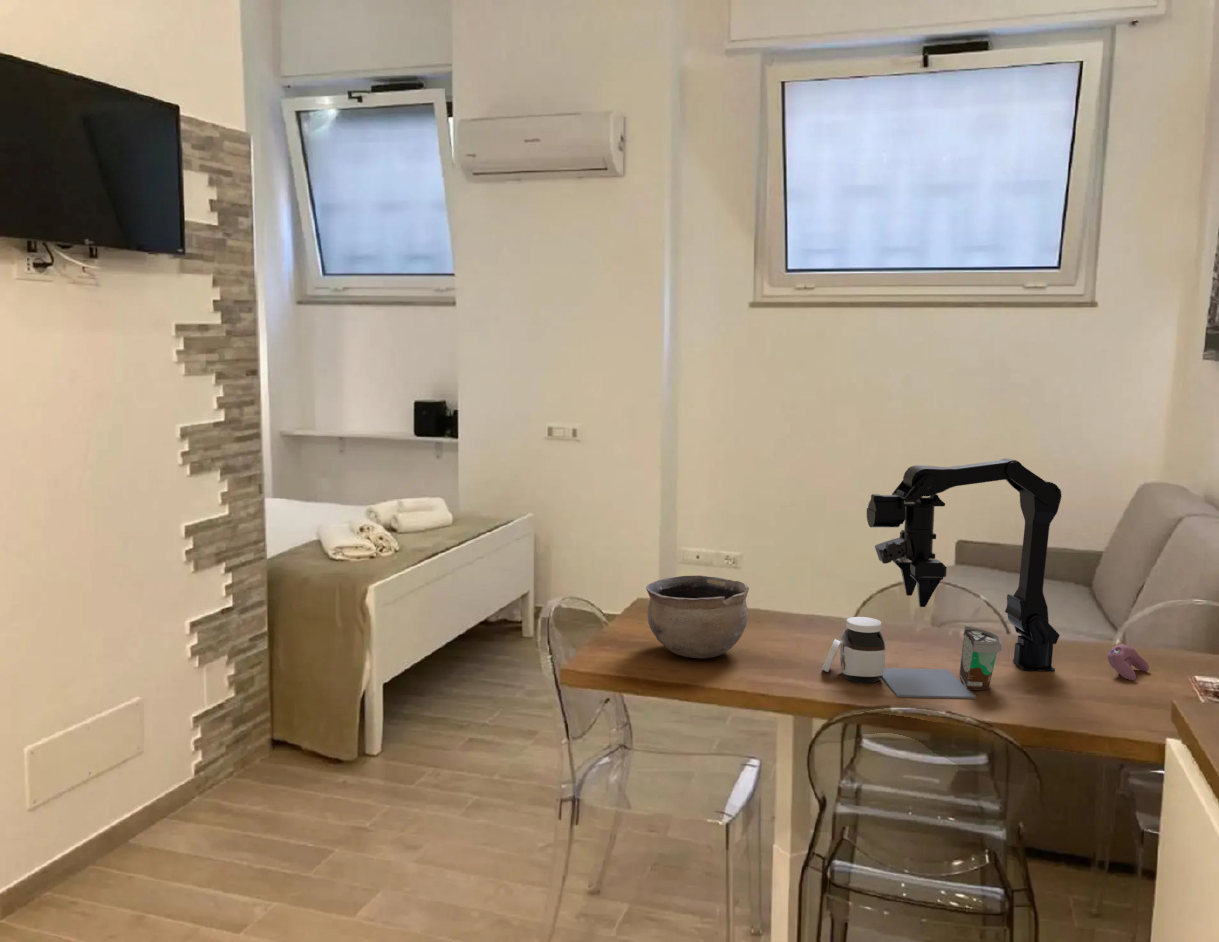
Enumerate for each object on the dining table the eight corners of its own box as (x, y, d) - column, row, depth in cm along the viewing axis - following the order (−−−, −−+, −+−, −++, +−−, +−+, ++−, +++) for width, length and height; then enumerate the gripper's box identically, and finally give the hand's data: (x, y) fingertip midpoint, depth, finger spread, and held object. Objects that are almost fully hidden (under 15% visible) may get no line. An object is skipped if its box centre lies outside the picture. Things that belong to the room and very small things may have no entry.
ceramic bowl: (721, 676, 196) (723, 603, 194) (626, 657, 206) (628, 588, 204) (761, 648, 215) (763, 581, 213) (672, 632, 225) (674, 569, 224)
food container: (1001, 696, 187) (1008, 646, 186) (967, 691, 188) (974, 641, 187) (989, 676, 199) (996, 629, 198) (958, 672, 200) (964, 625, 199)
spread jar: (888, 685, 192) (891, 628, 191) (832, 686, 191) (835, 628, 190) (867, 666, 204) (870, 611, 202) (815, 666, 203) (817, 612, 202)
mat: (947, 671, 201) (947, 669, 201) (976, 698, 186) (976, 696, 186) (875, 669, 202) (875, 667, 201) (897, 697, 186) (897, 695, 186)
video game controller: (1130, 674, 207) (1116, 642, 208) (1152, 669, 203) (1138, 637, 205) (1113, 685, 200) (1100, 652, 201) (1136, 680, 197) (1122, 647, 198)
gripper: (868, 519, 210) (865, 589, 212) (892, 535, 191) (889, 612, 193) (920, 519, 210) (916, 590, 212) (949, 535, 191) (945, 613, 193)
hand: (915, 600), depth 203 cm, fingers open, 9 cm apart
